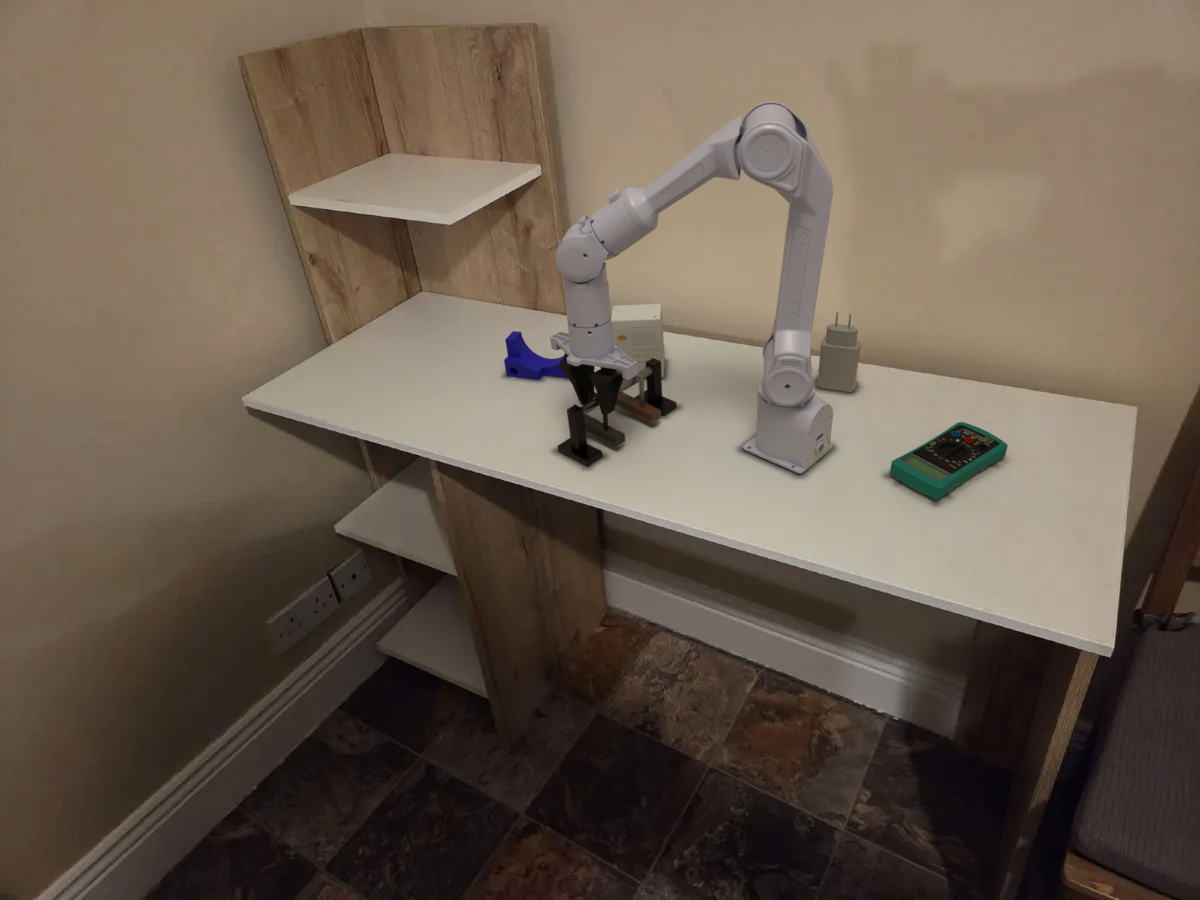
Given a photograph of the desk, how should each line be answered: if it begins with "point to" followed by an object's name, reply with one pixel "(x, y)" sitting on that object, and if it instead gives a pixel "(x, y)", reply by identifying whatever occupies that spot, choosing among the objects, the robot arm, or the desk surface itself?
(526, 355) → the blue curved cradle bracket
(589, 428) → the black hanger
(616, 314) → the small box
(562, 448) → the rail stand
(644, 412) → the walnut hanger
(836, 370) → the power adapter
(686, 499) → the desk surface
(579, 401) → the robot arm
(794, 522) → the desk surface
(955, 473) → the digital multimeter
